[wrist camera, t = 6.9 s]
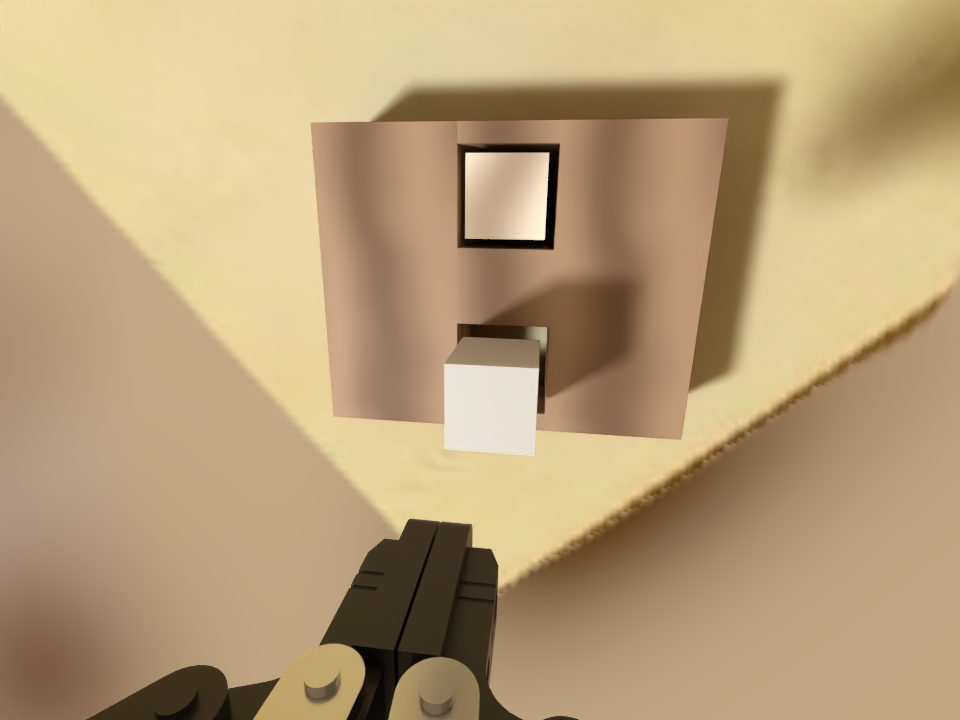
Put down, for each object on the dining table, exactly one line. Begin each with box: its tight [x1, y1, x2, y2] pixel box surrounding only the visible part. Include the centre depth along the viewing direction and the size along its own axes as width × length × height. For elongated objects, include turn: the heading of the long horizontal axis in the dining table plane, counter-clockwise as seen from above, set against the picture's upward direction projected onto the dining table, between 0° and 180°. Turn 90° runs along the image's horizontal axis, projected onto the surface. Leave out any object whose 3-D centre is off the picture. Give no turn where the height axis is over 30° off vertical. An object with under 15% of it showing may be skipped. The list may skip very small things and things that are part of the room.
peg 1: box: [465, 153, 549, 240], centre depth 25 cm, size 4×4×5 cm
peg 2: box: [444, 337, 540, 456], centre depth 23 cm, size 4×4×5 cm
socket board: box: [311, 118, 729, 440], centre depth 27 cm, size 20×16×5 cm
